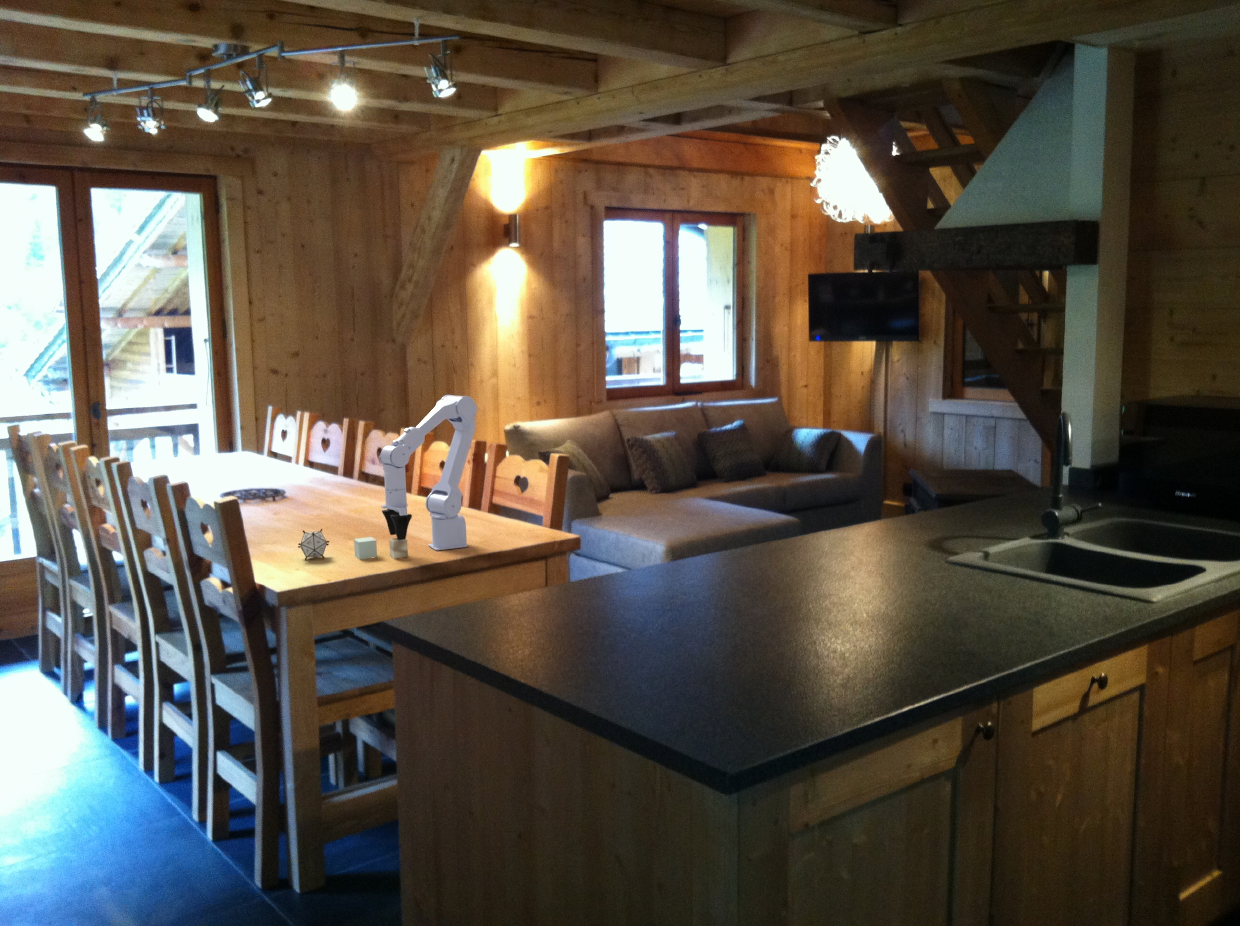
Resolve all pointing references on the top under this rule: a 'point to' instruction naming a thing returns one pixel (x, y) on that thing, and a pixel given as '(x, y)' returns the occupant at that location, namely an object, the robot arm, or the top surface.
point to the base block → (365, 548)
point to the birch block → (398, 548)
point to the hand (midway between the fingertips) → (397, 537)
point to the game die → (313, 544)
